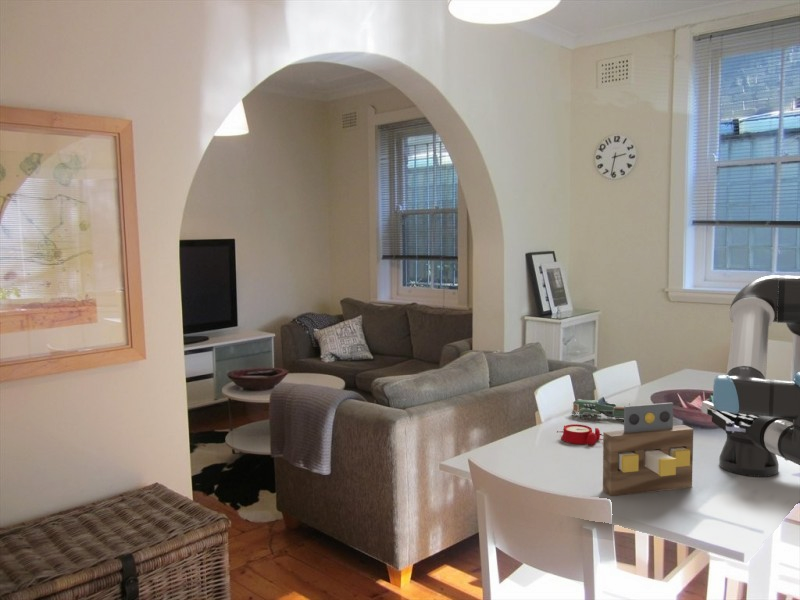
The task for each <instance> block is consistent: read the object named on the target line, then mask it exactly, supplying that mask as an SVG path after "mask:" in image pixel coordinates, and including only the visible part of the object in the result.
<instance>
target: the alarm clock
mask: <svg viewBox="0 0 800 600" xmlns="http://www.w3.org/2000/svg"><path fill="white" fill-rule="evenodd" d="M594 430H595V431H594V432H593V428H592V427H590V426H588V425H584V424H578V423H577V424H567V425H564V426H563V430H562V431H559V430H557V431H556V433H562V435H561V440H562V441H563V442H564V443H565V442H566V443H568V444H573V445H574V444H575V445H587V446H594V445H595V444H596V443H597V442H598V441H602V440H603V438H601V436H602V437H603V434H602V433H601V431H600V429H599V428H598V427H595V428H594Z"/></svg>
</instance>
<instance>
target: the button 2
mask: <svg viewBox="0 0 800 600" xmlns="http://www.w3.org/2000/svg"><path fill="white" fill-rule="evenodd" d="M669 456H671V457H674V458H676V467H682V466H690V450H689V449H686V448H684V447H672V448H670V451H669Z"/></svg>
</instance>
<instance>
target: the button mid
mask: <svg viewBox="0 0 800 600" xmlns="http://www.w3.org/2000/svg"><path fill="white" fill-rule="evenodd" d="M644 466H645V467H647V468H649V469H650V470H652V471H654V472H655V473H657V474H659V476H669V475H676V458H674V457H671V456H669V455H667V454H665V453H663V452H661V451H659V450H657V449H651V450H644Z"/></svg>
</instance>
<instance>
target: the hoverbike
mask: <svg viewBox="0 0 800 600" xmlns="http://www.w3.org/2000/svg"><path fill="white" fill-rule="evenodd" d="M630 403H631V402H628V406H631V404H630ZM572 404H573V405H572V407H573V409H572V411H571V414H572V415H577V414H578V416H581V418H582V419H584V420H586V419H587V418H588V416H589V417H592V418H593V419H594V421H596V420H598V419H599V415H602V414H603V415H604V416H605V417H606V418H607V419H610V418H611V419H613V418H614V419H615V420H616V421H618V422H620V421H624V406H617V405H616V403H611V402H608V401H607V400H606V399H605V397H604V396H602V397H600V398H599V399H598V400H594V399H593V400H592V399H591V400H590V399H580V398H577V399H576V400H574V401H573V402H572Z"/></svg>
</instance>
